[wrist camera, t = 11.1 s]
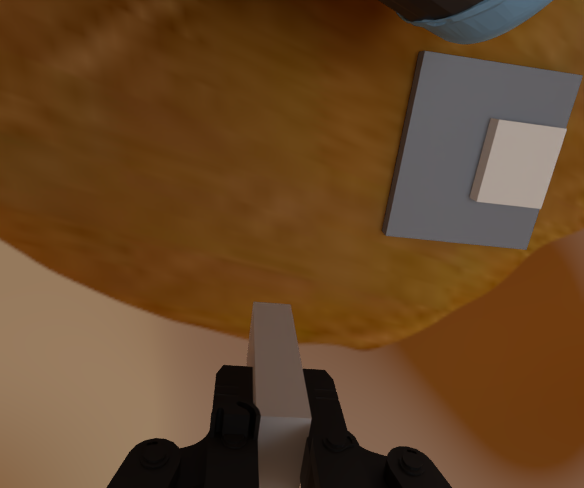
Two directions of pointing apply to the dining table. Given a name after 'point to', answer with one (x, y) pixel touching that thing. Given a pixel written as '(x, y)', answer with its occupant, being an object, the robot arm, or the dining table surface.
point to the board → (466, 147)
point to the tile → (516, 163)
